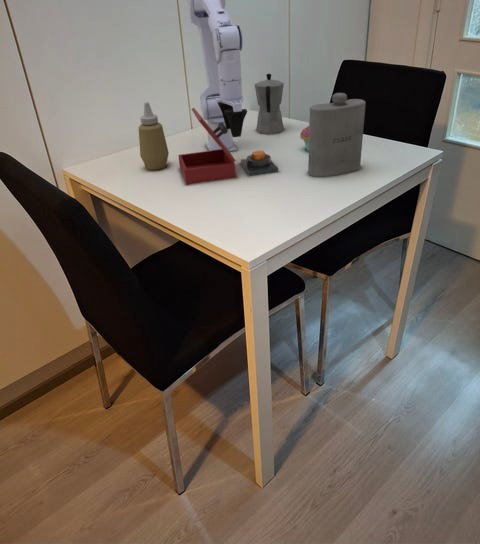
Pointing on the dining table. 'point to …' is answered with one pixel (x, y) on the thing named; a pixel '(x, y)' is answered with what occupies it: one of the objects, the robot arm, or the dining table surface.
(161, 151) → the squeeze bottle
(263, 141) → the dining table surface
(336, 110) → the flask
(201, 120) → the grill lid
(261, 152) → the power button
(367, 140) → the dining table surface
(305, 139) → the cupcake
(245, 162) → the switch box
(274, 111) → the coffeepot
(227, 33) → the robot arm
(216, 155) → the maroon rectangular box
